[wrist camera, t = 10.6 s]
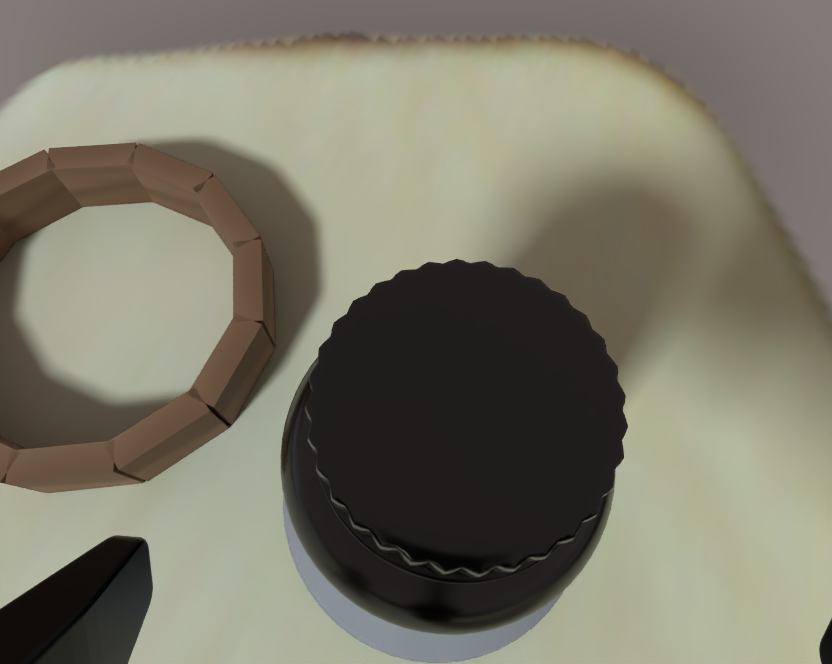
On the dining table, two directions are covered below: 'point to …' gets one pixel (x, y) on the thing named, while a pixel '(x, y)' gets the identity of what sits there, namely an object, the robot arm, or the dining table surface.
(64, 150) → the ring holder
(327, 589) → the coaster
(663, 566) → the dining table surface
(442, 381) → the supplement bottle
